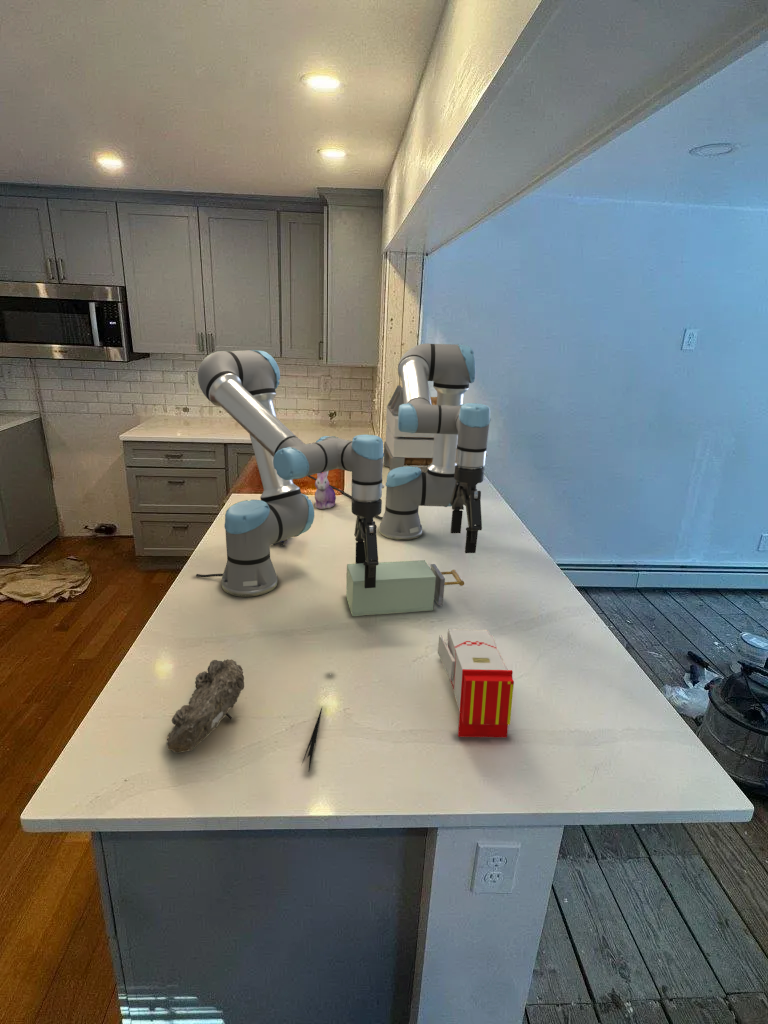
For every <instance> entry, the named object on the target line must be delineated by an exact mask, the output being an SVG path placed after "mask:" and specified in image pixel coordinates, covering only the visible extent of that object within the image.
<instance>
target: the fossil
mask: <svg viewBox="0 0 768 1024" xmlns="http://www.w3.org/2000/svg"><path fill="white" fill-rule="evenodd" d="M243 670H244V669H243V667H242V665H240V664H237V662H236V661H235V660H234V659H232V658H231V659H227V658H226V659H224V660H223V661H222V660H217V659H212V660H211V661H210V663H209V665H208V666H207V671H201V672H199V673H198V674H197V675H196V676H195V680H194V684H195V685H194V687H195V689H194V690H193V693H192V694H191V697H190V698H189V700H188V704H184V705H182V706H181V707H180V709H177V710H176V711H175V713H174V715H173V716H172V718H171V723H172V724H173V727H172V730H171V731H170V732H168V734H167V738H166V741H167V742H166V745H167V749H168V750H169V751H173V752H174V753H176V754H178V753H182V752H188V751H189V752H192V751H193V750H195V748H196V747H197V746H199V744H200V743H201V742H203V741H204V740H205V739H206V738H207V737H208V736H209V735H210V734H211V733H212V732H214V730H215V729H217V727H218V726H219V724H220V722H221V721H222V720H223V719H224V718H225V716H226V717H227V719H229V720H233V717H232V715H230V714H229V710H230V709H231V708H234V706H235V704H236V703H237V702H238V699H239V697H240V695H241V693H242V691H243V690H245V689H244V688H245V675H244V671H243Z"/></svg>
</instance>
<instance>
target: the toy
mask: <svg viewBox="0 0 768 1024" xmlns="http://www.w3.org/2000/svg"><path fill="white" fill-rule="evenodd" d="M446 640H447V643H446V641H445V639H444V636H443V635H442V634H439V637H438V646H437V656H438V657H439V659H440V661H441V663H442V666H443V668H444V670H445V672H446V674H447V677H448V679H449V681H450V684H451V687H452V690H453V693H454V697H455V701H456V705H457V708H458V711H459V714H458V715H459V716H458V730H457V731H458V732H457V737H458V738H508V731H509V726H510V725H511V717H512V707H513V697H514V696H513V695H514V684H515V680H514V679H513V673H514V671H513V670H512V669H508V667H507V665H506V662H505V661H504V659H503V658H502V655H501V653H500V651H499V649H498V647H497V643H496V639H495V637H494V635H493V634H491V632H490V631H489V629H467V628H466V629H465V628H463V629H461V628H460V629H459V628H448V630H447V639H446Z"/></svg>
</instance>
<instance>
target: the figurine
mask: <svg viewBox="0 0 768 1024" xmlns="http://www.w3.org/2000/svg"><path fill="white" fill-rule="evenodd" d="M316 476H317V477H316V479H317V480H315V481H314V486H315V488H316V490H315V492H314V500H315V503H314V507H315V508H316V509H320V510H324V509H330V508H333V507H335V505H336V499H337V497H336V496H337V495H336V490H335V489H333V488H332V487H330V486H329V485H330V481H329V478H328V476H329V471H326V472H322V473H317V474H316Z"/></svg>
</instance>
